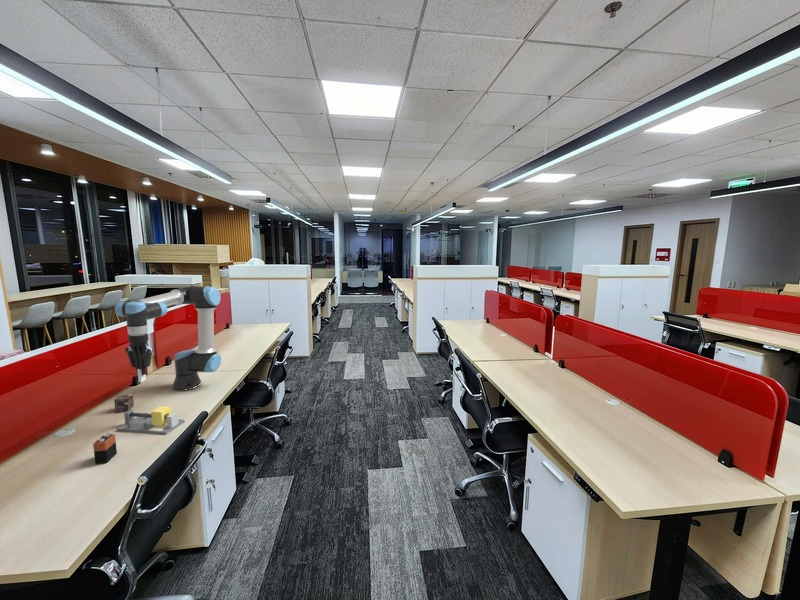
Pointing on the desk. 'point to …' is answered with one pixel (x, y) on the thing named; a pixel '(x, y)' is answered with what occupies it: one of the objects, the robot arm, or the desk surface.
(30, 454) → the desk surface
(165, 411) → the sleeve
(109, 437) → the battery
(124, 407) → the box
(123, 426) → the gray rail plate
